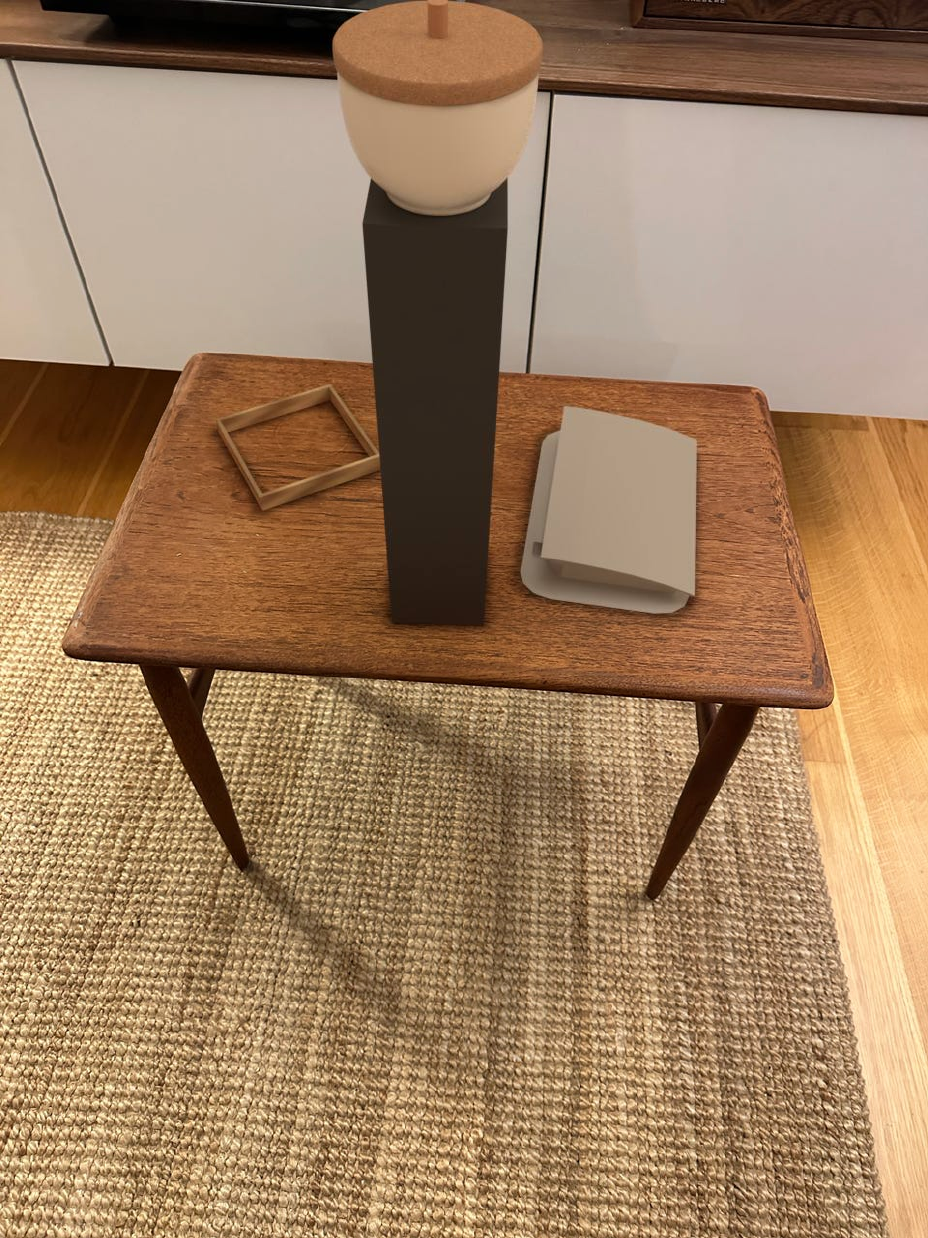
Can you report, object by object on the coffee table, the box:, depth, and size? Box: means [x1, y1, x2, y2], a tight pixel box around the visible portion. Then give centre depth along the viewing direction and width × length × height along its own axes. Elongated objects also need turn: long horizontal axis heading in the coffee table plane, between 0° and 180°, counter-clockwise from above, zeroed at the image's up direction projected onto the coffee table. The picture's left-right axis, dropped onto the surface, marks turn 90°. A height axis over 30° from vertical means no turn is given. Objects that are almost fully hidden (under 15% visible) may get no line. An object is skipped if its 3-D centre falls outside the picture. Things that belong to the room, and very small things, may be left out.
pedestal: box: [361, 176, 509, 627], centre depth 66 cm, size 8×8×36 cm
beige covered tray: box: [519, 405, 698, 615], centre depth 85 cm, size 15×23×4 cm, turn 170°
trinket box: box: [332, 0, 544, 216], centre depth 48 cm, size 11×11×9 cm
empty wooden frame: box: [215, 383, 380, 511], centre depth 90 cm, size 13×13×2 cm
